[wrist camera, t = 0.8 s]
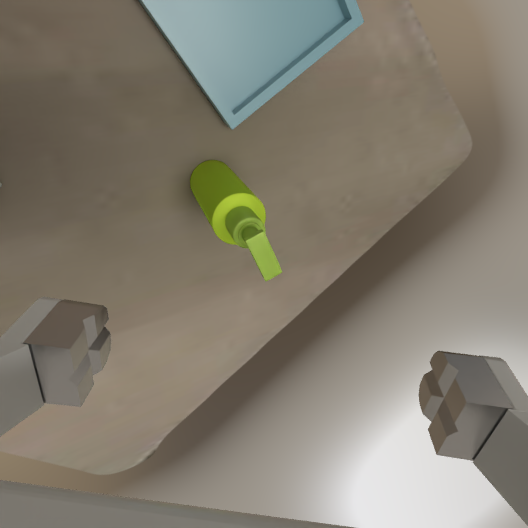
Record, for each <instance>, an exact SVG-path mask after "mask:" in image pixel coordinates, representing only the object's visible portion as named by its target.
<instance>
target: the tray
mask: <svg viewBox="0 0 528 528" xmlns="http://www.w3.org/2000/svg"><path fill="white" fill-rule="evenodd" d="M139 2H140V3H141V5H142V6H143V7H144V9H145V10H146V12H147V13H148V14H149V16H150V17H151V19H152V20H153V22H154V23H155V24H156V26H157V27H158V29H159V30H160V31H161V33H162V34H163V36H164V37H165V39H166V40H167V41H168V43H169V44H170V46H171V47H172V49H173V50H174V51H175V53H176V54H177V56H178V57H179V58H180V60H181V61H182V63H183V64H184V66H185V67H186V68H187V70H188V71H189V73H190V74H191V75H192V77H193V78H194V80H195V81H196V83H197V84H198V85H199V87H200V88H201V90H202V91H203V93H204V94H205V95H206V97H207V98H208V100H209V101H210V102H211V104H212V105H213V107H214V108H215V110H216V111H217V112H218V114H219V115H220V117H221V118H222V119H223V121H224V122H225V124H226V125H227V126H228V127H229V128H231V129H232V130H233V129H234V128H235V127H236V126H238V125H239V124H240V123H241V122H242V121H244V120H245V119H246V118H247V117H249V116H250V115H251V114H252V113H253V112H255V111H256V110H257V109H258V108H260V107H261V106H262V105H263V104H264V103H266V102H267V101H268V100H269V99H271V98H272V97H273V96H274V95H275V94H277V93H278V92H279V91H280V90H282V89H283V88H284V87H285V86H286V85H288V84H289V83H290V82H291V81H293V80H294V79H295V78H296V77H297V76H299V75H300V74H301V73H302V72H304V71H305V70H306V69H307V68H308V67H310V66H311V65H312V64H313V63H315V62H316V61H317V60H318V59H319V58H321V57H322V56H323V55H324V54H326V53H327V52H328V51H329V50H330V49H332V48H333V47H334V46H335V45H337V44H338V43H339V42H340V41H341V40H343V39H344V38H345V37H346V36H348V35H349V34H350V33H351V32H352V31H354V30H355V29H356V28H357V27H359V26H360V25H361V24H362V23H363V22H364V20H363V18H362V15H361V12H360V10H359V7H358V5H357V2H356V0H139Z"/></svg>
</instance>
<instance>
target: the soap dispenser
mask: <svg viewBox="0 0 528 528" xmlns="http://www.w3.org/2000/svg"><path fill="white" fill-rule="evenodd" d="M190 186H191V190H192V192H193V194H194V196H195V198H196V199H197V201H198V203H199V205H200V207H201V208H202V210H203V212H204V214H205V216H206V217H207V219H208V221H209V223H210V225H211V226H212V228H213V230H214V232H215V234H216V235H217V236H218V237H219V238H220V239H221V240H222V241H224V242H226V243H229V244H234V245H238V246H240V247H242V248H249V250H250V252H251V254H252V256H253V258H254V260H255V262H256V264H257V266H258V268H259V270H260V272H261V274H262V276H263V278H264V279H265V281H268V280H270V279H272V278H273V277H275V276H277V275H279V274H280V273H282V271H281V268H280V266H279V263H278V261H277V259H276V256H275V254H274V252H273V250H272V248H271V246H270V243H269V241H268V239H267V237H266V235H265V226H264V224H265V219H266V213H265V208H264V206H263V204H262V202H261V201H260V200H259V199H258V198H257V197H256V196H255V195H254V194H253V193H252V191H251V190H250V189H249V188H248V187H247V186H246V185H245V184H244V183H243V182H242V181H241V180H240V179H239V178H238V177H237V176H236V174H235V173H234V172H233V171H232V170H231V169H230V168H229V167H228V166H227V165H226V164H224V163H223V162H220V161H217V160H208V161H205V162H203V163H201V164H199V165H198V166H197V167H196V168H195V169H194V171H193V173H192V175H191V179H190Z"/></svg>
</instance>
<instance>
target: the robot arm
mask: <svg viewBox="0 0 528 528" xmlns="http://www.w3.org/2000/svg"><path fill="white" fill-rule="evenodd" d="M108 319H109V317H108V311H107V308H106V307H105V306H103V305H97V304H90V303H84V302H78V301H71V300H65V299H64V300H62V299H56V298H50V297H42V298H39V299H37V300H36V301H35V302H34V303H33V304H32V305H31V306H30V307H29V308H28V309H27V310H26V311H25V313H24V314H23V315H22V316H21V317H20V318H19V319H18V320H17V321H16V322H15V323H14V324H13V325H12V326H11V327H10V328H9V329H8V330H7V331H6V332H5V333H4V334H3V335H2V336H1V337H0V436H2V435H3V434H5V433H6V432H7V431H9V430H10V429H11V428H13V427H14V426H16V425H17V424H18V423H20V422H21V421H23V420H24V419H25V418H27V417H28V416H30V415H31V414H32V413H34V412H35V411H37V410H38V409H39V408H41V407H42V406H43V405H44V403H49V404H58V405H67V406H77V407H81V406H82V404H83V403H84V401H85V399H86V397H87V396H88V394H89V392H90V390H91V389H92V387H93V385H94V381H93V375H95V374H96V373H98V372H100V371H101V370H102V369H103V368H104V366H105V364H106V362H107V359H108V356H109V353H110V349H111V334H110V332H109V331H108V330H107V329H106V327H105V324H106V323H107V321H108ZM430 364H431V366H432V369H433V370H431V371H430V372H428V373H426V374H425V375H424V376H423V378H422V381H421V383H420V388H419V402H420V406H421V409H422V412H423V414H424V415H425V416H426V417H427V418H428V419H429V420H430V421H431V422H432V423H431V425H430V426H429V428H428V431H429V433H430V437H431V440H432V442H433V445H434V448H435V451H436V454H437V455H441V456H448V457H454V458H460V459H467V460H472V461H473V463H474V464H475V466H476V467H477V468H478V469H479V470H480V471H481V472H482V474H483V475H484V476H485V477H486V478H487V479H488V481H489V482H490V483H491V484H492V485H493V486H494V487H495V489H496V490H497V491H498V492H499V493H500V494H501V495H502V497H503V498H504V499H505V500H506V501H507V502H508V504H509V505H510V506H511V507H512V508H513V509H514V510H515V512H516V513H517V514H518V515H519V516H520V517H521V519H522V520H523V521H524V522H525V523H526V524H527V525H528V396H527V394H526V393H525V391H524V390H523V388H522V387H521V385H520V383H519V382H518V380H517V379H516V377H515V376H514V374H513V373H512V371H511V369H510V368H509V366H508V365H507V363H506V362H505V361H504V360H503V359H501V358H496V357H488V356H476V355H475V356H474V355H468V354H460V353H451V352H444V351H437V352H436V353H435V354H434V355H433V357H432V359H431V361H430ZM0 528H354V527H346V526H339V525H331V524H323V523H316V522H309V521H301V520H294V519H286V518H279V517H271V516H264V515H257V514H249V513H241V512H234V511H227V510H219V509H212V508H204V507H197V506H189V505H182V504H175V503H167V502H160V501H152V500H145V499H137V498H130V497H122V496H115V495H107V494H100V493H92V492H85V491H77V490H70V489H63V488H55V487H48V486H40V485H32V484H26V483H18V482H11V481H3V480H0Z"/></svg>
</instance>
